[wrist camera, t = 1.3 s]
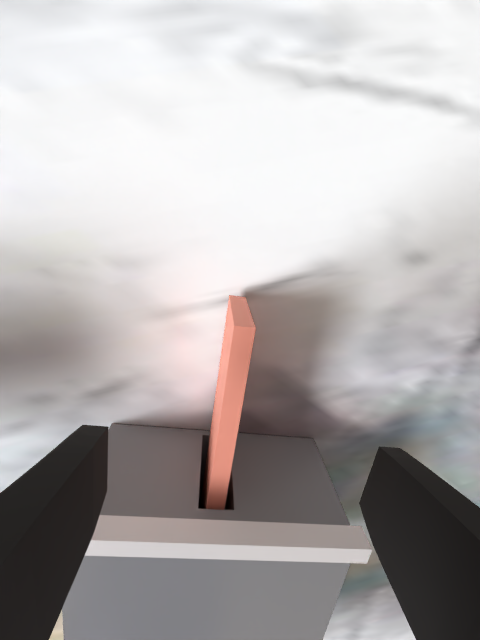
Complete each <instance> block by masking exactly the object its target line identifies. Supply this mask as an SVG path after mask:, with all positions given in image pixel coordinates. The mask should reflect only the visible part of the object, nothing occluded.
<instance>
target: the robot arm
mask: <svg viewBox="0 0 480 640" xmlns="http://www.w3.org/2000/svg"><path fill="white" fill-rule="evenodd" d="M107 477H108V427H104V426H91V425H82V426H81V427H80V428H78V429H77V430H76V431H75V432H73V433H72V434H71V435H70V436H69V437H67V438H66V439H65V440H64V441H63V442H62V443H60V444H59V445H58V446H57V447H56V448H55V449H53V450H52V451H51V452H50V453H49V454H47V455H46V456H45V457H44V458H43V459H42V460H40V461H39V462H38V463H37V464H36V465H34V466H33V467H32V468H31V469H29V470H28V471H27V472H26V473H25V474H23V475H22V476H21V477H20V478H18V479H17V480H16V481H15V482H13V483H12V484H11V485H10V486H8V487H7V488H6V489H5V490H4V491H2V492H1V493H0V640H49V638H50V635H51V633H52V631H53V628H54V626H55V624H56V621H57V619H58V617H59V614H60V612H61V610H62V607H63V605H64V603H65V600H66V598H67V596H68V593H69V591H70V589H71V586H72V584H73V582H74V579H75V577H76V575H77V572H78V570H79V568H80V565H81V563H82V560H83V558H84V556H85V553H86V551H87V549H88V546H89V544H90V541H91V539H92V537H93V534H94V531H95V528H96V525H97V522H98V519H99V515H100V512H101V509H102V506H103V502H104V499H105V496H106V493H107ZM359 504H360V507H361V510H362V513H363V517H364V520H365V523H366V526H367V529H368V532H369V535H370V538H371V541H372V543H373V546H374V548H375V551H376V553H377V555H378V557H379V560H380V562H381V564H382V566H383V568H384V571H385V573H386V575H387V577H388V579H389V582H390V584H391V586H392V588H393V590H394V593H395V595H396V597H397V599H398V601H399V603H400V606H401V608H402V610H403V612H404V614H405V616H406V619H407V621H408V623H409V625H410V627H411V629H412V632H413V634H414V636H415V638H416V640H480V508H479V507H478V506H477V505H475V504H474V503H473V502H471V501H470V500H469V499H468V498H466V497H465V496H464V495H462V494H461V493H460V492H458V491H457V490H456V489H454V488H453V487H452V486H451V485H449V484H448V483H447V482H445V481H444V480H443V479H441V478H440V477H439V476H438V475H436V474H435V473H434V472H432V471H431V470H430V469H428V468H427V467H426V466H424V465H423V464H422V463H420V462H419V461H418V460H416V459H415V458H413V457H412V456H411V455H409V454H408V453H406V452H405V451H403V450H402V449H400V448H390V447H379V449H378V451H377V454H376V457H375V460H374V463H373V466H372V468H371V471H370V474H369V477H368V480H367V483H366V485H365V488H364V491H363V494H362V497H361V500H360V502H359Z"/></svg>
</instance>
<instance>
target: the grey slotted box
mask: <svg viewBox="0 0 480 640" xmlns="http://www.w3.org/2000/svg"><path fill="white" fill-rule="evenodd" d="M209 437H210V431H206V430H193V429H179V428H166V427H152V426H139V425H126V424H111V426H110V428H109V430H108V477H107V493H106V496H105V499H104V502H103V506H102V509H101V512H100V515H99V519H98V522H97V525H96V528H95V531H94V534H93V537H92V539H91V541H90V544H89V546H88V549H87V551H86V553H85V556H84V558H83V560H82V563H81V565H80V568H79V570H78V572H77V575H76V577H75V579H74V582H73V584H72V586H71V589H70V591H69V593H68V596H67V598H66V600H65V603H64V605H63V607H62V612H63V632H64V640H323V637H324V634H325V632H326V629H327V626H328V623H329V621H330V618H331V615H332V613H333V610H334V607H335V604H336V602H337V599H338V596H339V594H340V591H341V588H342V585H343V583H344V580H345V577H346V575H347V572H348V569H349V567H350V564H351V563H366V564H367V562H368V559H369V557H370V554H371V552H372V548H371V546H370V543H369V541H368V539H367V537H366V535H365V533H364V530H363V528H362V526H350V523H349V521H348V519H347V516H346V514H345V512H344V509H343V507H342V505H341V502H340V500H339V498H338V495H337V493H336V491H335V488H334V486H333V484H332V481H331V479H330V476H329V474H328V472H327V469H326V467H325V465H324V462H323V460H322V458H321V455H320V453H319V451H318V448H317V446H316V444H315V441H314V439H313V438H300V437H286V436H273V435H260V434H246V433H238V434H237V439H236V445H235V451H234V457H233V462H232V468H231V474H230V480H229V485H228V491H227V497H226V503H225V508H224V510H217V509H200V507H201V494H202V487H203V480H204V473H205V465H206V458H207V451H208V444H209Z"/></svg>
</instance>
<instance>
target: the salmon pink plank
mask: <svg viewBox="0 0 480 640" xmlns="http://www.w3.org/2000/svg"><path fill="white" fill-rule="evenodd" d="M255 330H256V327H255V324H254V321H253V318H252V315H251V312H250V309H249V306H248V303H247V300H246V297H239V296H231V295H229V302H228V309H227V316H226V323H225V330H224V337H223V344H222V352H221V359H220V366H219V373H218V380H217V387H216V394H215V401H214V408H213V416H212V423H211V430H210V437H209V444H208V451H207V458H206V465H205V473H204V480H203V487H202V494H201V507H200V509H217V510H224V508H225V503H226V497H227V491H228V485H229V480H230V474H231V468H232V462H233V457H234V451H235V445H236V439H237V434H238V428H239V422H240V416H241V411H242V405H243V399H244V393H245V388H246V382H247V376H248V370H249V365H250V359H251V353H252V347H253V342H254V336H255Z"/></svg>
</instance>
